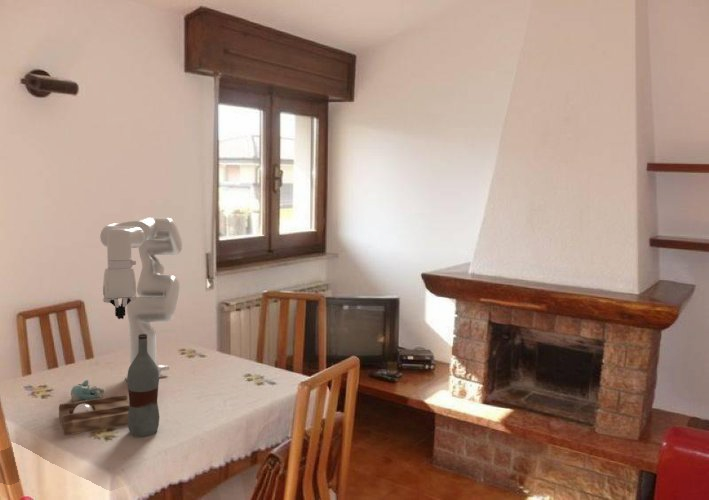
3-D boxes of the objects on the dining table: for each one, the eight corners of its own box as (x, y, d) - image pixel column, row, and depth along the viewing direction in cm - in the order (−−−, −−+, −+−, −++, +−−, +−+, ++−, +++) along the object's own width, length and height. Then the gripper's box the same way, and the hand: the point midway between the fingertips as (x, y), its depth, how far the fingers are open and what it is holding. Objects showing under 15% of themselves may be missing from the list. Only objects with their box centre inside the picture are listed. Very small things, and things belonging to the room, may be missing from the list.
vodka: (160, 435, 178) (159, 337, 175) (127, 439, 175) (126, 339, 171) (158, 423, 187) (158, 330, 183) (127, 427, 183) (126, 332, 180)
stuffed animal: (114, 381, 209) (84, 384, 199) (111, 401, 209) (81, 405, 199) (93, 375, 215) (64, 378, 204) (90, 395, 214) (61, 399, 204)
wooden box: (124, 406, 200) (124, 391, 200) (134, 422, 187) (134, 407, 186) (59, 416, 190) (58, 401, 189) (64, 435, 176) (64, 419, 176)
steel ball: (74, 399, 185) (66, 416, 185) (81, 408, 181) (73, 426, 181) (92, 400, 190) (84, 417, 190) (99, 410, 186) (91, 427, 186)
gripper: (140, 262, 207) (140, 314, 209) (94, 264, 200) (95, 318, 202) (145, 265, 201) (145, 318, 203) (97, 267, 193) (98, 322, 195)
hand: (120, 318), depth 202 cm, fingers closed
